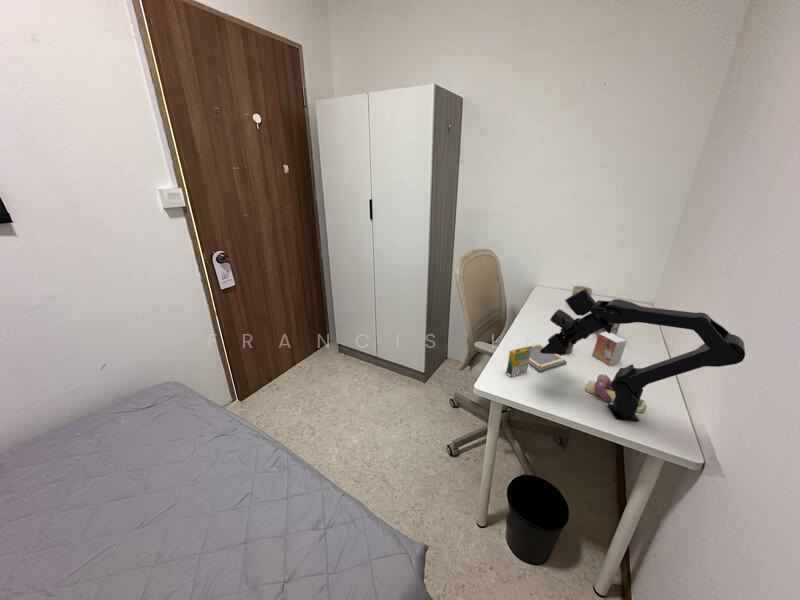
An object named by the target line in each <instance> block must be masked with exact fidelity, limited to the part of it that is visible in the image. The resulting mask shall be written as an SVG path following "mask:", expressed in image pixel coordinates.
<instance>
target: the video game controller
mask: <svg viewBox="0 0 800 600" xmlns="http://www.w3.org/2000/svg"><path fill="white" fill-rule="evenodd" d="M612 381H613V380H611V379H610V377H609V376H608V375H607V374H604V373H602V374H598V376H597V378H596V382H594V390H595V393H597V394H598V396H600V398H601V399H602V400H603V401H605V402H606V403H611V402H612V400H613V399H612V397H611V395H610V394H609V393H608V392H607V389H606V390H605V387H606V388H608V387H609V388H608V389H610V388H611V383H612Z"/></svg>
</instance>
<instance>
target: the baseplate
mask: <svg viewBox="0 0 800 600" xmlns="http://www.w3.org/2000/svg"><path fill="white" fill-rule="evenodd" d="M529 346H530V345H529ZM529 346H527V347H529ZM531 346H532V347H531V352H530V358H529V363H528V364H529V365H530V366H531V367H530V366H529V365H528V366H529V367H530V368H532V367H533V368H534V369H535V371H536V370H537V371H538V372H537V371H536V372H537V373H539V374H541V373H544V371H545V372H547V370H548V371H551V370H554V369H556V368H560V367H563V366H566V365H567V363H568V362H567V361H566V359H565V358H564V357H562V356H560V355H558V354H542V353H541V352H540V350H541V349H543V348H544V347H545V345H542V344H539V343H536V344H533V345H531ZM533 368H532V369H533ZM534 369H533V370H534ZM550 369H551V370H550ZM540 372H541V373H540Z"/></svg>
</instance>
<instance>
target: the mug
mask: <svg viewBox="0 0 800 600" xmlns="http://www.w3.org/2000/svg"><path fill="white" fill-rule="evenodd" d="M583 289H586V290H587V291H588V293H589V295H590V296H591V297H592V293H593V289H592V288H591V287H589V286H584V285H574V286H573V287H572V292H571V296H572V295H573V294H575V293H576V292H579V291H581V290H583Z"/></svg>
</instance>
